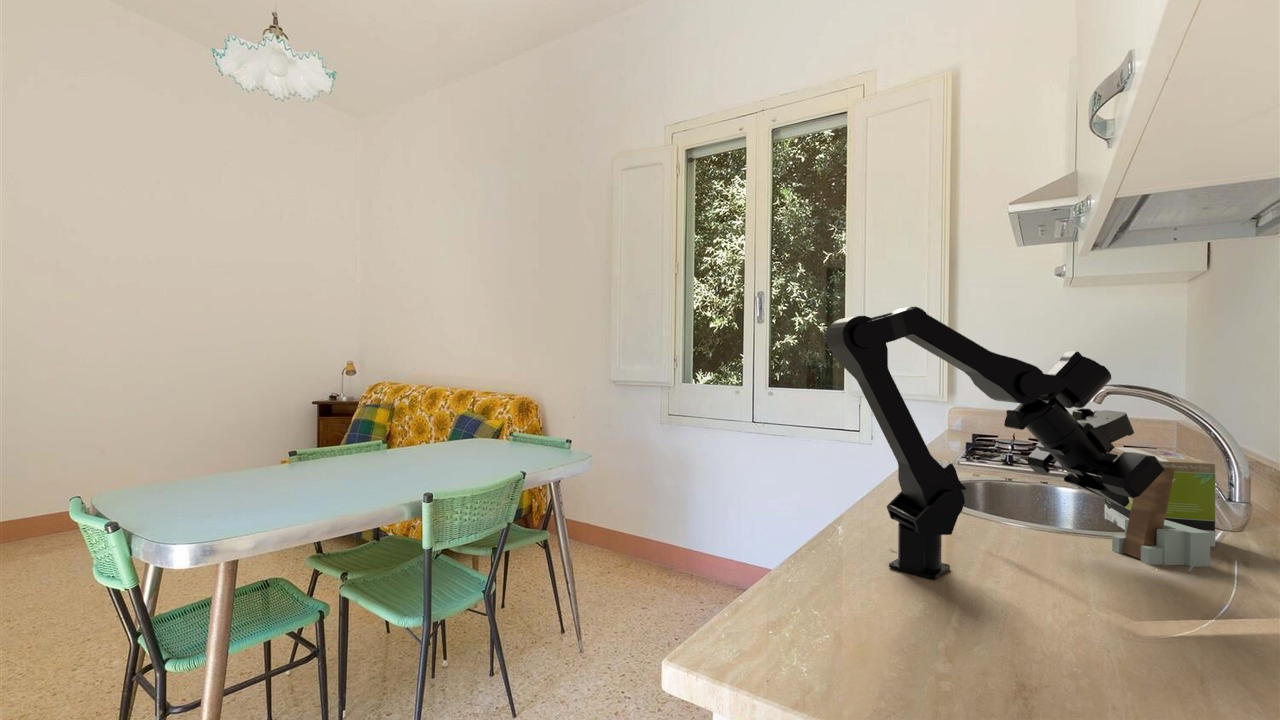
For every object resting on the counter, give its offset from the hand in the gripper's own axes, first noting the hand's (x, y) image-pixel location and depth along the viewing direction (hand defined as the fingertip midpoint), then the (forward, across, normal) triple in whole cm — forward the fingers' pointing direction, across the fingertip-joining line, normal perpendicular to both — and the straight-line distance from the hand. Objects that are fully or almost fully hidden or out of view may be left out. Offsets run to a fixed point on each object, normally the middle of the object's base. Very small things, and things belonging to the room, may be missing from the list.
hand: (1125, 504), depth 87 cm
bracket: (+10, 0, +3) cm, 10 cm away
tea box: (+19, +13, -6) cm, 24 cm away
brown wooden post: (+7, 0, +4) cm, 8 cm away
